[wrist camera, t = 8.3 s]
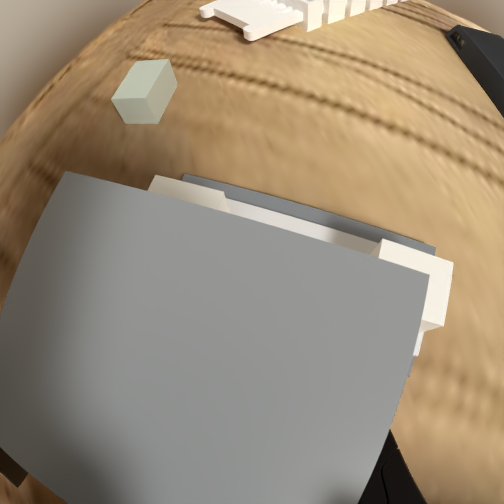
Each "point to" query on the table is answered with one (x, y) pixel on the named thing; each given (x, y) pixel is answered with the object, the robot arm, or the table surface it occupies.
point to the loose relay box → (145, 92)
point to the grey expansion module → (198, 354)
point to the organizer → (285, 13)
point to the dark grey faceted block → (482, 59)
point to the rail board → (323, 234)
